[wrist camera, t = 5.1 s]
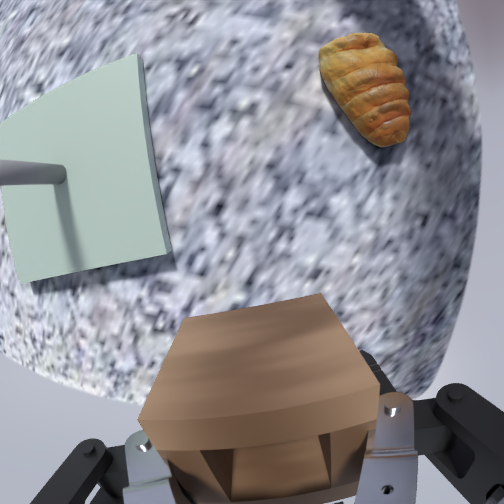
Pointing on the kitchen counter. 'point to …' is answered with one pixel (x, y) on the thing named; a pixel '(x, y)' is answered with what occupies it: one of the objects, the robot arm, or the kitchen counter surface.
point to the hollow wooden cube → (264, 405)
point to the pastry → (367, 86)
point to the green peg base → (82, 176)
